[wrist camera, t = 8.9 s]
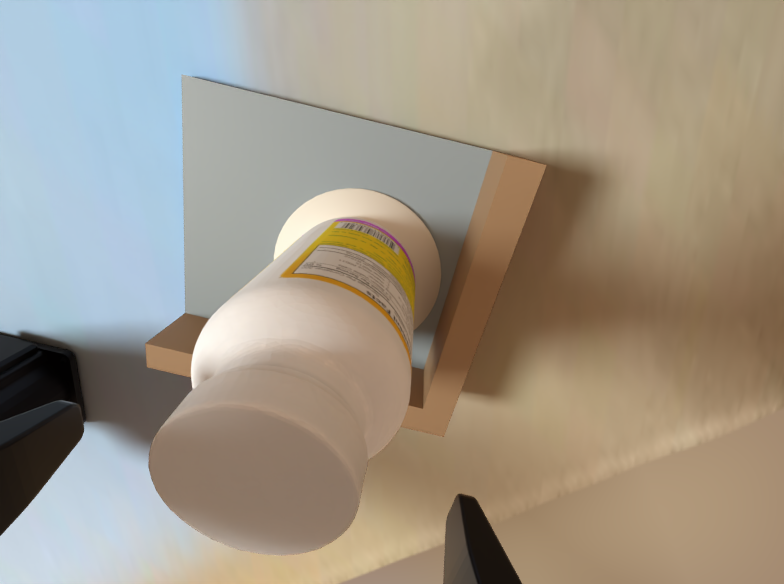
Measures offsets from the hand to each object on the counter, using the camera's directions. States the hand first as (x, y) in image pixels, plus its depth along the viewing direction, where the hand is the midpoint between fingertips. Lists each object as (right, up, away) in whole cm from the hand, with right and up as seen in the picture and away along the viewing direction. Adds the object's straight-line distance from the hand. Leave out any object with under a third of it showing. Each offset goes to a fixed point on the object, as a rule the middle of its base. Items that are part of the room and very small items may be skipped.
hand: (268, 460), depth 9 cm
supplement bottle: (+1, +5, +11) cm, 12 cm away
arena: (0, +6, +12) cm, 13 cm away
